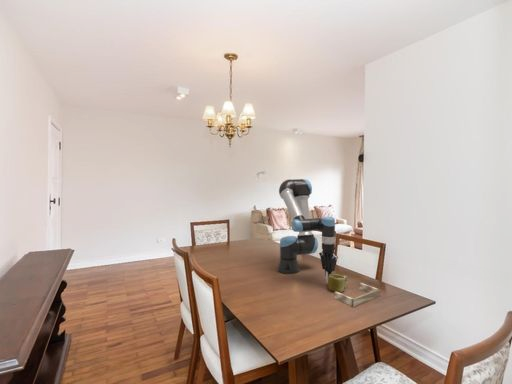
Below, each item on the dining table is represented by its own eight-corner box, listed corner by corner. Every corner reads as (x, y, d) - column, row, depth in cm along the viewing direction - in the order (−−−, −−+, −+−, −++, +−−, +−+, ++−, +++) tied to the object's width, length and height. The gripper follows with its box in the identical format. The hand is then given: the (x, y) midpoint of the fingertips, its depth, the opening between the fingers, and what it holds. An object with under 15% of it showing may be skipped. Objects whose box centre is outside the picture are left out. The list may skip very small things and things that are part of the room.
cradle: (334, 298, 149) (334, 291, 149) (360, 288, 161) (360, 282, 161) (353, 306, 139) (353, 300, 139) (380, 295, 151) (380, 289, 151)
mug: (333, 292, 152) (333, 273, 155) (324, 290, 162) (324, 273, 165) (352, 294, 155) (352, 275, 158) (343, 292, 164) (343, 275, 167)
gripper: (315, 241, 169) (316, 280, 170) (332, 246, 158) (332, 286, 159) (324, 240, 173) (324, 277, 174) (341, 244, 162) (341, 283, 163)
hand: (328, 281), depth 167 cm, fingers closed
